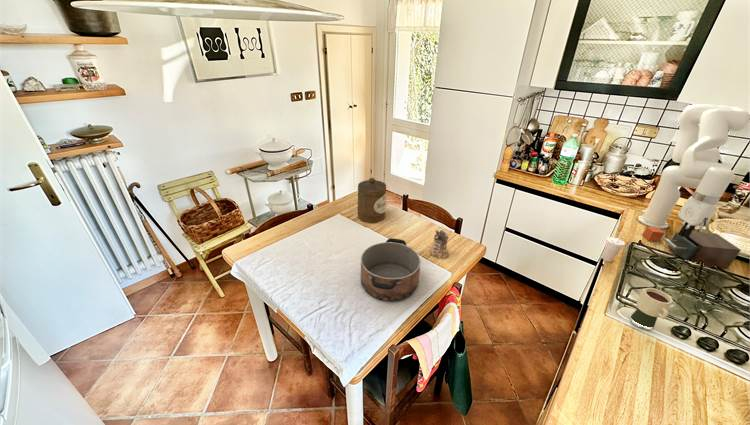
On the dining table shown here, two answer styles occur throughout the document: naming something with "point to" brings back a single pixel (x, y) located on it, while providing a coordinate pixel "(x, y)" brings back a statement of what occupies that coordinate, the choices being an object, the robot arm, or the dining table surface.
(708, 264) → the cabinet
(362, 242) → the dining table surface
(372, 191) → the brown lidded canister
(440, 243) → the figurine
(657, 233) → the block
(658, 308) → the character mug
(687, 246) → the drawer
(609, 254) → the smoothie
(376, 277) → the cooking pot
